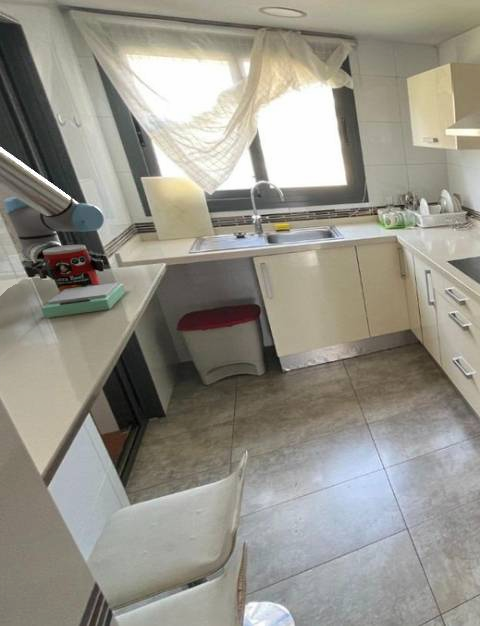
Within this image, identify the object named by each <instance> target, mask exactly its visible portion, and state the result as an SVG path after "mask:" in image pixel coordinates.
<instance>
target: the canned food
mask: <svg viewBox="0 0 480 626" xmlns="http://www.w3.org/2000/svg"><path fill="white" fill-rule="evenodd" d="M88 251H89V250H88V249H87V247H86V245H85V244H67V245H62V246H59V247H53V248H49V249H45V250H43V251H42V252H43V255H44V257H45V260H46V262H47V264H48V266H50V267H51V268H53V269H54V272H55V274H56V276H57V280H54V283H55V285H56V287H57V289H58V291H59V293H60V292H62V291H63V290H64V289H70V288H78V287H87V286H95V285H101V283H100V279H99V276H98V274H97V272H96V271H97V270H96V269H94V266H93V264H92V261H91V259H90V256H89V253H88Z"/></svg>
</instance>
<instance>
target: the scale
mask: <svg viewBox="0 0 480 626" xmlns="http://www.w3.org/2000/svg"><path fill="white" fill-rule="evenodd" d="M125 294H126V291H125V288H124V285H123V283H119V282H113V283H104V284H100V285H95V286H87V287H78V288H70V289H64V290H63V291H62V292H60V291H59V293H58V294H56V295H55V296H54V297H52V298H51V299H50V300H48V301H47V303H46V304H45V305H43V306H42V307H41V310H42V313H43V316H44V317H45V319H48V318H55V317H61V316H62V317H63V316H70V315H71V316H72V315H76V314H77V315H78V314H84V313H85V314H86V313H93V312H99V311H106V310H107V311H108V310H111V309H112V308H113V307H114V306H115V304H116V303H118V301H119V300H120V299H121V298H122V297H123V296H124V295H125Z"/></svg>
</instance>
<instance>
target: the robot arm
mask: <svg viewBox="0 0 480 626" xmlns="http://www.w3.org/2000/svg"><path fill="white" fill-rule="evenodd" d="M0 188H1V189H2V190H4V191H5V192H6V193H8V194H9V195H11V196H13V197H7V198H5V199H4V200H3V205H4V207H5V210H6V215H7V216H8V217H9V220H10V222H11V224H12V226H13V228H14V231H15V232H16V235H17V237H18V240H19V243H20V245H21V252H22V254H23V256H24V258H25V259H27V260H22V261H20V262H21V265H22V267H23V269H24V271H25V273H26V276H27V278H35V277H36V275H38V276H39V278H40V280H43V279H48V278H50V280H53V281H55V280H57V276H56V274H55V272H54V269H53V268H51V267H50V266H48V264H47V262H46V260H45V257H44V255H43V252H42V251H43V250H45V249H49V248H53V247H59V246H63V245H62V243H61V241H60V238H59V236H58V233H57V232H73V233H74V232H76V233H77V232H78V233H86V232H94V231H98V230H100V229H101V228H102V227H103V225H104V223H105V217H104V214H103V212H102V211H101V209H100V208H99V207H97V206H96V205H93V204H92V203H91V204H89V203H84V202H81V203H80V202H79V201H76V200H75V199H74V198H72V197H71V196H70V195H68V194H66V193H65V192H64V191H63V190H61V189H59V188H58V187H57V186H55V185H54V184H53V183H51V182H50V181H48V180H47V179H46V178H45V177H43V176H41V175H40V174H39V173H37V172H36V171H35V170H33V169H31V168H30V167H29V166H28V165H26V164H25V163H23V162H22V161H21V160H19V159H18V158H16V157H15V156H14V155H13V154H11V153H9V152H8V151H6V149H4V148H3V147H1V146H0ZM87 251H88V253H89V256H90V259H91V261H92V264H93V266H94V269H95V271H98V272H105V270H104V268H103V267H105V266H108V265H109V264H110V262H109V260H108V257H107V254H104V253H99V252H98V253H97V252H94V251H92V250H87Z"/></svg>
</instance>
